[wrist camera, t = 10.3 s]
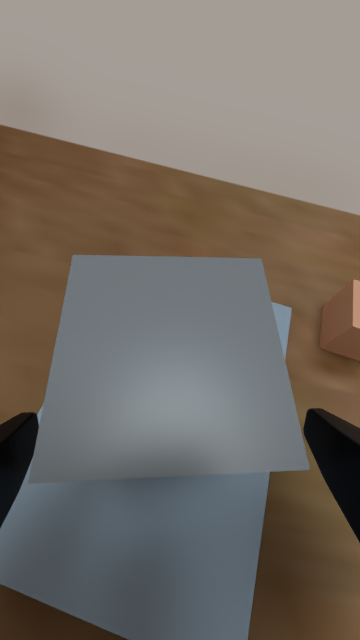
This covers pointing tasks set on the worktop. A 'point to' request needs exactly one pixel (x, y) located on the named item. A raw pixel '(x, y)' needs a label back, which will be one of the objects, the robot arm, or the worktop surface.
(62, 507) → the board
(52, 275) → the worktop surface
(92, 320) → the tall gray block
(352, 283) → the exposed block
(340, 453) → the robot arm
